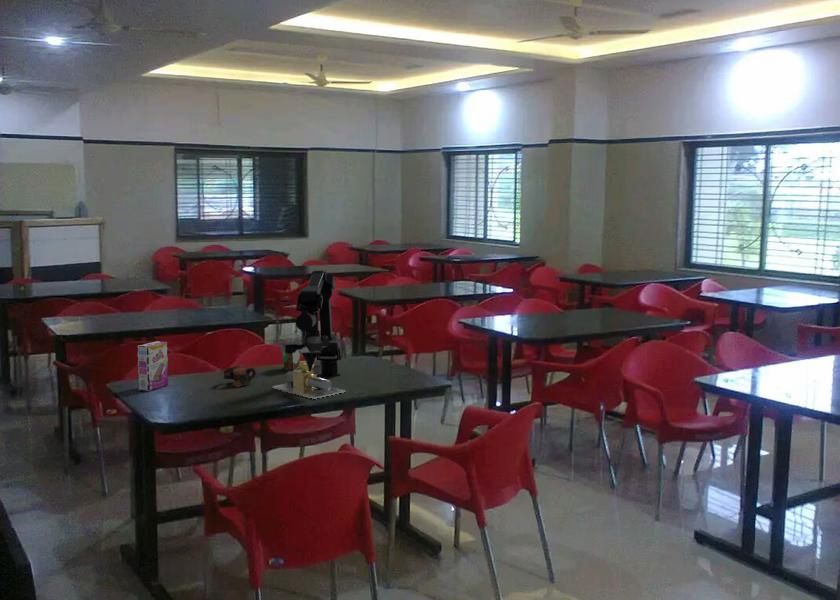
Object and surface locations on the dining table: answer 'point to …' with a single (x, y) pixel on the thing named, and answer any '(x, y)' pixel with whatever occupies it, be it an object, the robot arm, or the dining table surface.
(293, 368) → the food container
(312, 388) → the valve pipe
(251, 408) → the dining table surface
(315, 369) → the lever
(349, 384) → the dining table surface
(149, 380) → the candy bar box
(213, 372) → the dining table surface
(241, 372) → the pottery mug
